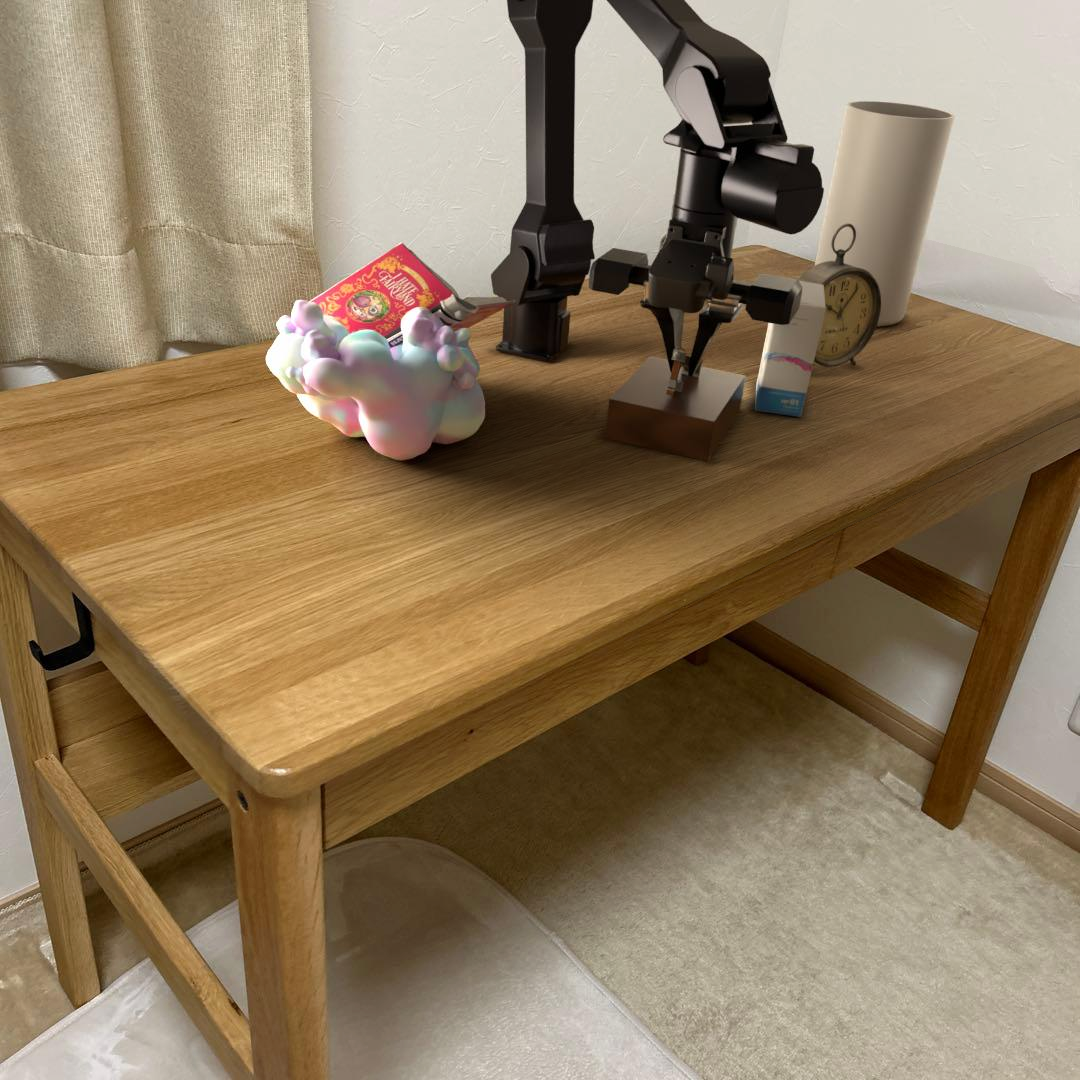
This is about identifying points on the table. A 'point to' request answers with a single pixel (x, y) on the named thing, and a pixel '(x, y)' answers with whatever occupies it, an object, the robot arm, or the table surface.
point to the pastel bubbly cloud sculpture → (387, 356)
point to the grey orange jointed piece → (679, 361)
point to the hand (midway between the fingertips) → (682, 373)
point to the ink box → (790, 356)
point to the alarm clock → (844, 307)
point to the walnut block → (675, 409)
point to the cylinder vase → (885, 193)
